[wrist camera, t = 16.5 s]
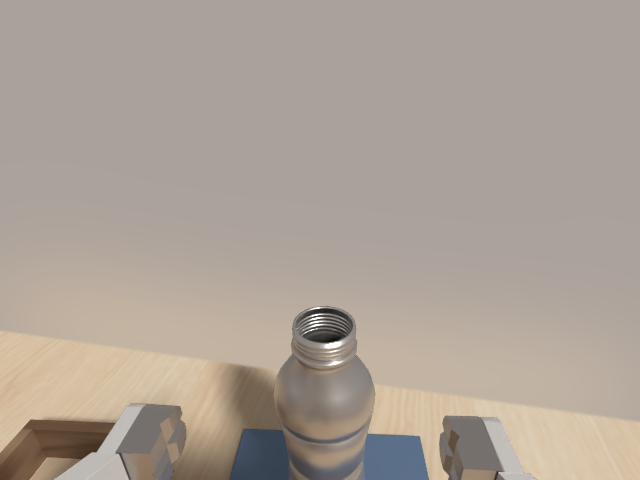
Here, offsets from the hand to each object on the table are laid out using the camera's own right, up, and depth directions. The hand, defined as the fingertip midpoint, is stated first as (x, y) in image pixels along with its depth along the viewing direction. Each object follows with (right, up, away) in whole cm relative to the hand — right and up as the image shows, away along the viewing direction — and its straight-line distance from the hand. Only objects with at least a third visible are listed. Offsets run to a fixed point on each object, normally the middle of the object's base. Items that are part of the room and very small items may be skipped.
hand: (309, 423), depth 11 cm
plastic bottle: (+1, -18, +18) cm, 25 cm away
